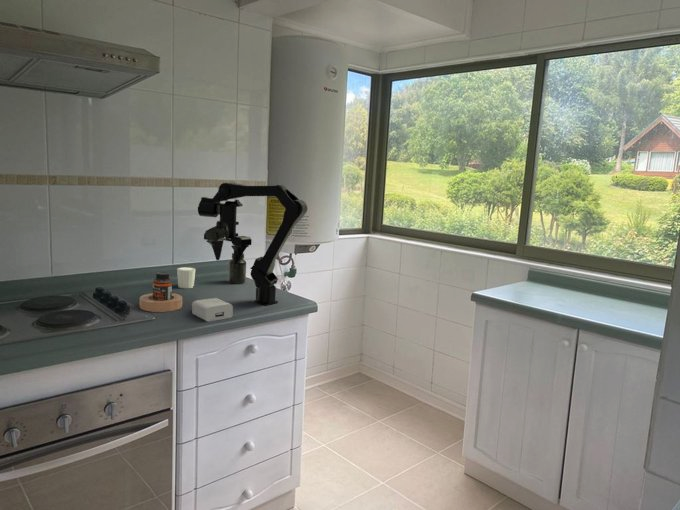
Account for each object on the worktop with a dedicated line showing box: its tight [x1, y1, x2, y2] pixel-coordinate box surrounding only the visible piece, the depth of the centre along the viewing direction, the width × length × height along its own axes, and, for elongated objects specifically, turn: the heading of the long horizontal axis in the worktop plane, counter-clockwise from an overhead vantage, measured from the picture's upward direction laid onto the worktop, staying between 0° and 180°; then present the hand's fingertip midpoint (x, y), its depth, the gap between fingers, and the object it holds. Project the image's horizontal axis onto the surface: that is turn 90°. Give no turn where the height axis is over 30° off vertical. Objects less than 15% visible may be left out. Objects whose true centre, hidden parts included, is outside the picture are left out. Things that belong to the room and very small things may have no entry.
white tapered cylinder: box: [176, 266, 196, 289], centre depth 198 cm, size 7×7×7 cm
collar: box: [139, 292, 183, 313], centre depth 170 cm, size 13×13×3 cm
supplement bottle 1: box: [152, 271, 173, 301], centre depth 169 cm, size 6×6×11 cm
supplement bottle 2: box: [228, 252, 247, 285], centre depth 210 cm, size 7×7×12 cm
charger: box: [191, 297, 234, 323], centre depth 165 cm, size 5×9×15 cm
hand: (226, 262), depth 184 cm, fingers open, 9 cm apart
